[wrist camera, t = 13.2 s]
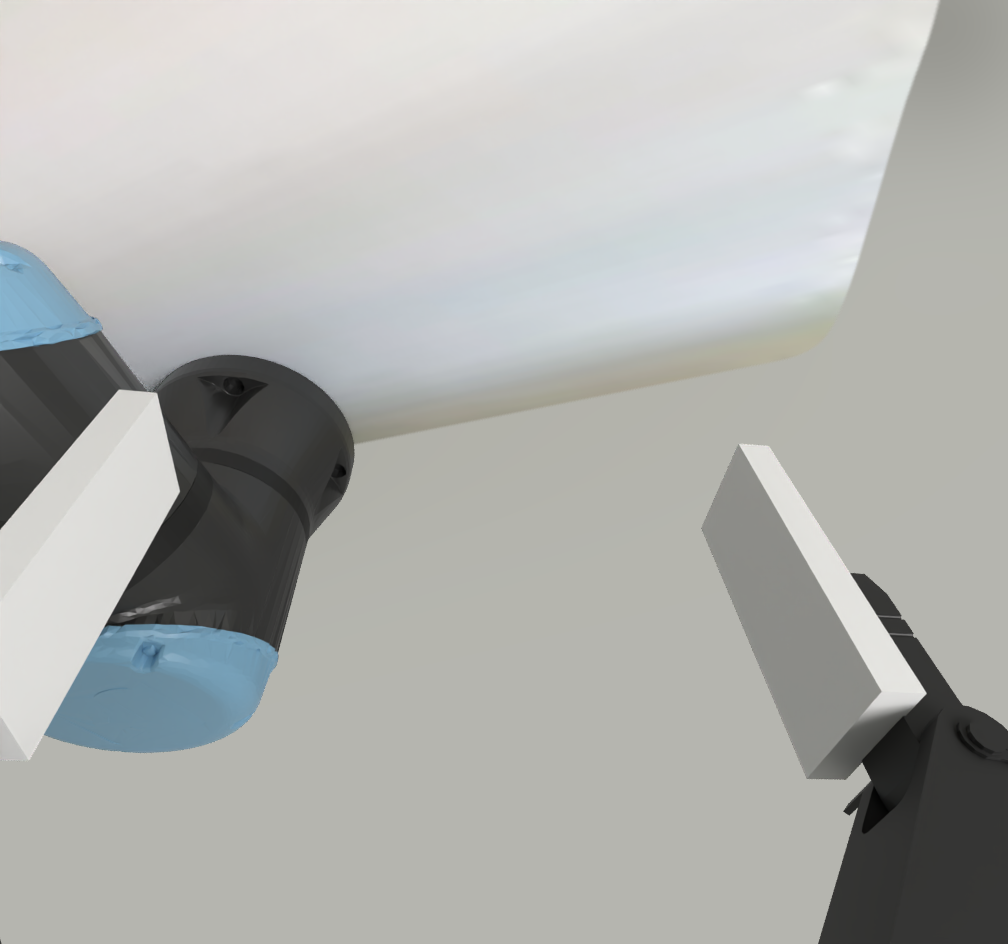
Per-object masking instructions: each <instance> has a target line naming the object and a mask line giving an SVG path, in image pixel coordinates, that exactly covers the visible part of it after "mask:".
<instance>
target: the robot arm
mask: <svg viewBox="0 0 1008 944" xmlns="http://www.w3.org/2000/svg"><path fill="white" fill-rule="evenodd" d="M102 329H103V328H102V325H101V323H100V322H99V320H98V319H96V318H94V317H91V316H88V314H87V313H86V312H85V311H84V310H83V308H82V307H81V306H80V305H79V304H78V303H77V301H76V300H75V299H74V298H73V297H72V295H71V294H70V293H69V292H68V291H67V289H66V288H65V287H64V286H63V285H62V284H61V282H60V281H59V280H58V279H57V278H56V276H55V275H54V274H53V273H52V272H51V271H50V269H49V268H48V267H47V266H46V265H45V264H44V263H43V262H42V261H41V260H40V259H39V258H38V257H37V256H35V255H34V254H33V253H31V252H30V251H28V250H26V249H24V248H22V247H20V246H18V245H15V244H12V243H9V242H5V241H0V760H11V761H12V760H13V761H29V760H30V758H31V756H32V755H33V753H34V751H35V749H36V747H37V746H38V744H39V742H40V740H41V739H42V737H43V735H46V736H48V737H51V738H54V739H57V740H60V741H63V742H68V743H72V744H75V745H79V746H84V747H89V748H95V749H101V750H110V751H122V752H135V753H152V752H168V751H177V750H184V749H190V748H195V747H199V746H202V745H206V744H209V743H212V742H215V741H217V740H219V739H222V738H224V737H226V736H228V735H230V734H231V733H233V732H234V731H236V730H237V729H239V728H240V727H241V726H243V725H244V724H245V723H246V722H247V721H248V720H249V719H250V718H251V716H252V714H253V713H254V712H255V710H256V708H257V707H258V705H259V703H260V700H261V697H262V695H263V692H264V689H265V686H266V683H267V681H268V678H269V675H270V673H271V672H272V670H273V669H274V668H275V667H276V665H277V662H278V651H279V647H280V643H281V639H282V635H283V632H284V628H285V624H286V620H287V617H288V613H289V609H290V605H291V602H292V598H293V594H294V590H295V587H296V583H297V579H298V575H299V571H300V568H301V564H302V560H303V556H304V553H305V548H306V545H307V541H308V539H309V538H310V536H311V535H312V534H313V533H314V532H315V530H317V528H318V527H319V526H320V525H321V524H322V523H323V521H324V520H325V519H326V518H327V517H328V516H329V514H330V513H331V512H332V511H333V510H334V509H335V507H336V506H337V505H338V504H339V502H340V500H341V499H342V497H343V495H344V493H345V491H346V489H347V486H348V484H349V480H350V476H351V472H352V468H353V463H354V442H353V437H352V434H351V431H350V428H349V425H348V423H347V421H346V419H345V417H344V416H343V414H342V412H341V411H340V409H339V408H338V407H337V405H336V404H335V403H334V402H333V400H332V399H331V398H330V397H329V396H328V395H327V394H326V393H325V392H324V391H323V390H322V389H320V388H319V387H318V386H317V385H316V384H314V383H313V382H311V381H310V380H309V379H307V378H306V377H304V376H302V375H301V374H299V373H297V372H295V371H293V370H291V369H289V368H287V367H285V366H282V365H280V364H277V363H274V362H271V361H267V360H264V359H260V358H255V357H249V356H239V355H221V356H212V357H207V358H203V359H199V360H196V361H193V362H190V363H188V364H186V365H184V366H182V367H180V368H178V369H177V370H175V371H174V372H172V373H171V374H170V375H169V376H167V377H166V378H165V379H164V380H163V382H162V383H161V384H160V385H159V387H158V388H157V389H156V391H155V392H154V393H153V392H147V391H146V389H145V388H144V387H143V385H142V384H141V383H140V382H139V380H138V379H137V378H136V376H135V375H134V374H133V372H132V371H131V370H130V368H129V367H128V366H127V365H126V363H125V362H124V361H123V359H122V358H121V357H120V355H119V354H118V353H117V352H116V350H115V349H114V348H113V346H112V345H111V344H110V342H109V341H108V340H107V339H106V337H105V336H104V335H103V333H102V332H101V330H102ZM701 529H702V531H703V533H704V536H705V538H706V541H707V543H708V545H709V547H710V550H711V553H712V555H713V557H714V559H715V562H716V564H717V567H718V569H719V572H720V574H721V576H722V579H723V581H724V583H725V586H726V588H727V590H728V593H729V595H730V598H731V600H732V602H733V605H734V607H735V609H736V612H737V614H738V616H739V619H740V621H741V624H742V626H743V628H744V631H745V633H746V636H747V638H748V640H749V643H750V645H751V647H752V650H753V652H754V654H755V657H756V659H757V662H758V664H759V666H760V669H761V671H762V674H763V676H764V678H765V681H766V683H767V685H768V688H769V690H770V692H771V695H772V697H773V699H774V702H775V704H776V707H777V709H778V711H779V714H780V716H781V719H782V721H783V723H784V726H785V728H786V730H787V733H788V735H789V738H790V740H791V742H792V745H793V747H794V749H795V751H796V754H797V757H798V759H799V761H800V764H801V766H802V768H803V771H804V773H805V776H806V778H807V779H844V780H845V779H847V778H848V777H849V776H850V775H851V774H852V773H853V771H854V770H855V769H856V768H857V767H858V766H859V765H860V764H861V763H863V765H864V767H865V769H866V770H867V773H868V775H869V777H870V779H871V781H870V783H869V784H868V785H867V786H866V787H865V788H864V789H863V790H862V791H861V792H860V793H859V794H858V795H857V796H856V797H855V798H854V799H853V800H852V801H851V802H850V803H849V804H848V805H847V807H846V808H845V810H844V812H845V813H846V814H848V815H850V814H851V813H853V811H855V810H856V808H858V810H857V814H856V817H855V820H854V824H853V827H852V831H851V834H850V837H849V841H848V844H847V848H846V851H845V854H844V858H843V861H842V865H841V868H840V871H839V875H838V879H837V882H836V885H835V889H834V892H833V895H832V899H831V902H830V906H829V909H828V912H827V916H826V919H825V923H824V926H823V929H822V933H821V936H820V939H819V943H818V944H1008V731H1007V729H1005V727H1004V726H1003V725H1001V724H1000V723H998V722H997V721H996V720H994V719H993V718H991V717H990V716H988V715H987V714H985V713H983V712H981V711H978V710H976V709H974V708H971V707H969V706H963V705H962V704H961V703H960V701H959V700H958V698H957V697H956V695H955V694H954V692H953V691H952V689H951V688H950V686H949V685H948V684H947V682H946V681H945V679H944V678H943V676H942V675H941V673H940V672H939V670H938V669H937V667H936V666H935V664H934V663H933V661H932V660H931V658H930V657H929V655H928V654H927V653H926V651H925V650H924V648H923V647H922V645H921V644H920V642H919V641H918V639H917V638H914V637H913V632H912V630H911V629H910V627H909V626H908V624H907V623H906V621H905V620H901V615H900V613H899V611H898V610H897V608H896V607H895V605H894V604H893V602H892V601H891V599H890V598H889V596H888V595H887V594H886V593H885V592H884V591H883V590H882V589H881V588H880V587H879V586H877V585H876V584H875V583H874V582H873V581H872V580H871V579H869V578H868V577H867V576H866V575H865V574H856V573H849V571H848V569H847V568H846V567H845V565H844V563H843V562H842V560H841V558H840V557H839V555H838V554H837V552H836V551H835V549H834V547H833V546H832V544H831V543H830V541H829V540H828V538H827V537H826V535H825V533H824V532H823V530H822V529H821V527H820V526H819V524H818V523H817V521H816V519H815V518H814V516H813V515H812V513H811V511H810V510H809V508H808V507H807V505H806V504H805V502H804V501H803V499H802V497H801V496H800V494H799V493H798V491H797V490H796V488H795V487H794V485H793V483H792V482H791V480H790V479H789V477H788V475H787V474H786V472H785V471H784V469H783V468H782V466H781V465H780V463H779V461H778V460H777V458H776V457H775V455H774V454H773V452H772V450H771V449H770V447H769V446H760V445H749V444H738V446H737V448H736V450H735V453H734V455H733V457H732V460H731V462H730V464H729V466H728V469H727V471H726V473H725V475H724V478H723V480H722V482H721V485H720V487H719V489H718V491H717V494H716V496H715V498H714V500H713V503H712V505H711V508H710V510H709V512H708V514H707V516H706V519H705V521H704V523H703V526H702V528H701ZM0 944H1V941H0Z"/></svg>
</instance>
